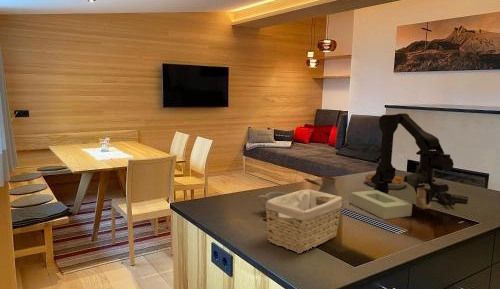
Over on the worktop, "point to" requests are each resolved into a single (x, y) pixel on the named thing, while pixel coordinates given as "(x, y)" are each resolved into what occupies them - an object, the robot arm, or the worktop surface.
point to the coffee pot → (325, 187)
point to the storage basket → (302, 219)
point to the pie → (396, 183)
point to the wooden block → (422, 198)
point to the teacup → (270, 197)
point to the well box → (381, 204)
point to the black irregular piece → (450, 198)
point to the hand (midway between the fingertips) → (423, 202)
